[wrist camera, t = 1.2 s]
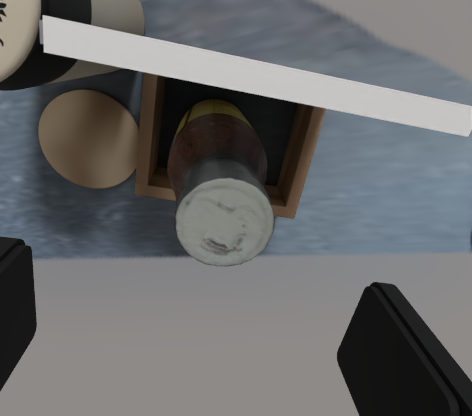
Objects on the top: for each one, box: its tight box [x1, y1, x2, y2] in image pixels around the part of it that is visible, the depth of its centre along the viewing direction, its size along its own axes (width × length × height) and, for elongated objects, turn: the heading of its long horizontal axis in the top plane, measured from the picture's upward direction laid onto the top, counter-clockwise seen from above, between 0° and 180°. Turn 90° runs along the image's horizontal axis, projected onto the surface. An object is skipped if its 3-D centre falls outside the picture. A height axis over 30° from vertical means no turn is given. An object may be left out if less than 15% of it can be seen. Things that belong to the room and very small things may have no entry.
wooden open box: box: [134, 72, 326, 219], centre depth 28 cm, size 14×12×7 cm
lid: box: [39, 15, 472, 137], centre depth 20 cm, size 15×1×20 cm, turn 79°
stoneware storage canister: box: [0, 0, 145, 90], centre depth 19 cm, size 8×8×18 cm
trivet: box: [38, 90, 139, 188], centre depth 31 cm, size 9×9×1 cm
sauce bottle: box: [167, 99, 274, 266], centre depth 22 cm, size 7×6×20 cm
